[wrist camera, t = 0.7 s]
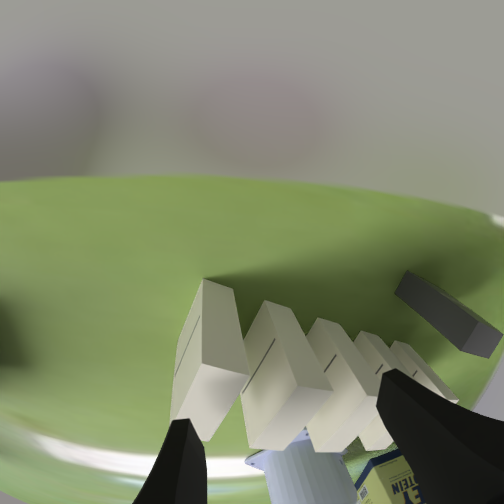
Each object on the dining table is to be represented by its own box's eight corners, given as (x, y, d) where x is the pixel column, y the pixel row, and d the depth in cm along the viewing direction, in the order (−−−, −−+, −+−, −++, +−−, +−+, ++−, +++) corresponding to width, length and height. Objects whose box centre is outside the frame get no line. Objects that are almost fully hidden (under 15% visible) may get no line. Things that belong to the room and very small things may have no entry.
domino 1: (233, 288, 18) (250, 375, 11) (205, 348, 19) (208, 441, 12) (202, 278, 18) (201, 363, 10) (177, 340, 19) (168, 433, 11)
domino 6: (408, 343, 23) (459, 399, 15) (378, 385, 24) (417, 444, 16) (394, 340, 22) (447, 399, 15) (363, 383, 23) (403, 447, 16)
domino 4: (378, 335, 22) (431, 399, 14) (346, 381, 23) (385, 449, 15) (360, 330, 21) (414, 399, 13) (328, 378, 22) (366, 450, 15)
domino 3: (339, 323, 20) (392, 397, 13) (306, 373, 22) (341, 452, 14) (317, 317, 20) (367, 395, 12) (285, 369, 21) (315, 452, 14)
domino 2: (290, 308, 19) (334, 391, 12) (259, 363, 21) (283, 451, 13) (264, 299, 19) (297, 385, 11) (234, 357, 20) (249, 447, 13)
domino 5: (407, 270, 20) (478, 321, 12) (440, 288, 21) (503, 334, 14) (394, 293, 20) (460, 351, 13) (429, 308, 22) (488, 358, 14)
